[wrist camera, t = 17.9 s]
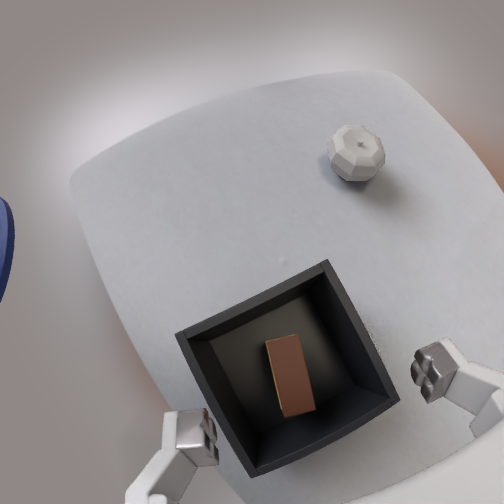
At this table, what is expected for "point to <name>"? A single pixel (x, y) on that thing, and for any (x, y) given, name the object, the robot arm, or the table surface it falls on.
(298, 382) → the chocolate bar
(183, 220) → the table surface
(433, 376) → the robot arm
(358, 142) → the apple
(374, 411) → the waste bin
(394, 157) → the table surface
